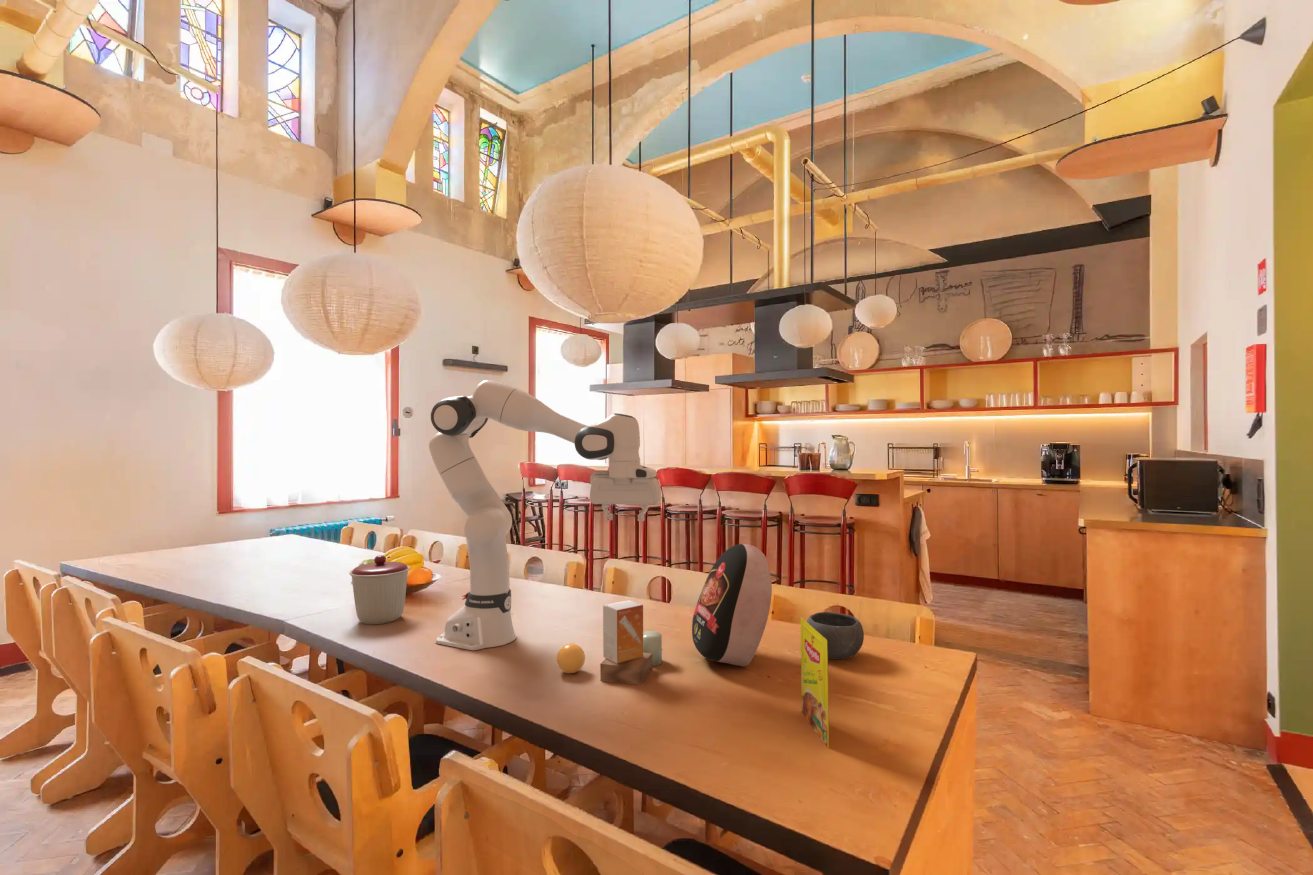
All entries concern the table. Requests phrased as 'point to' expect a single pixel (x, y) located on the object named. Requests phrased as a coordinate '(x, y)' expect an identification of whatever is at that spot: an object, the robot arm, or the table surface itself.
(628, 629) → the small box
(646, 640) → the pale green cylinder
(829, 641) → the bowl
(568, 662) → the orange
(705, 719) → the table surface
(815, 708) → the food package
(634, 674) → the brown block
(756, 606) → the packaged food
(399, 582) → the canister
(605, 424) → the robot arm
